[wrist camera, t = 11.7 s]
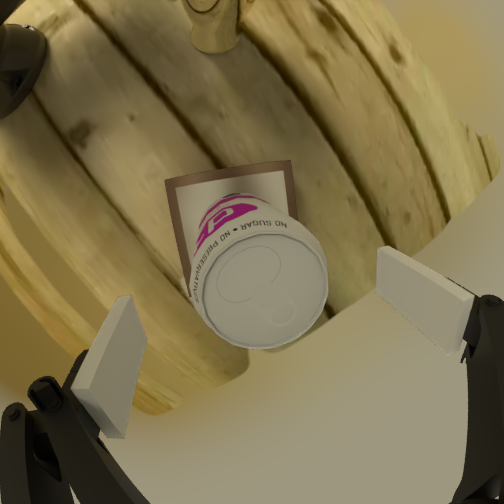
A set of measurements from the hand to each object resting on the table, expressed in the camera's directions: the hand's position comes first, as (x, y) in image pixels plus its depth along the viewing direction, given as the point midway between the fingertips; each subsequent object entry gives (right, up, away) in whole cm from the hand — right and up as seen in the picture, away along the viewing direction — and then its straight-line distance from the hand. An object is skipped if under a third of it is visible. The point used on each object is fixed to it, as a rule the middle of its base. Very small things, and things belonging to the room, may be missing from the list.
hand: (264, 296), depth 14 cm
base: (-3, +6, +19) cm, 20 cm away
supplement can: (-2, +4, +15) cm, 16 cm away
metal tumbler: (-5, +28, +12) cm, 31 cm away
